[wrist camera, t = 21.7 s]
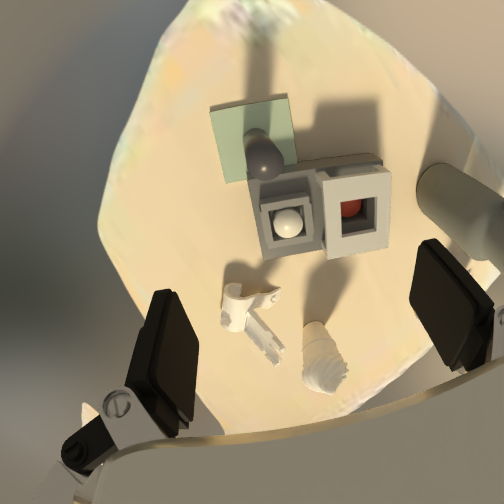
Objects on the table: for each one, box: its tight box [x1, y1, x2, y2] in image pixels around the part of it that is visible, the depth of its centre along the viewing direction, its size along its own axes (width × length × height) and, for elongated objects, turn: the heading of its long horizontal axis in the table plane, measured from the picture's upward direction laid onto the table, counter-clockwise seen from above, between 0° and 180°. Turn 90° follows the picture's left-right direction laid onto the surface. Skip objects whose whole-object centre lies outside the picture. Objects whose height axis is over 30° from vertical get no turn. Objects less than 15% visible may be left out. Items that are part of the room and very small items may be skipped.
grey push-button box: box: [246, 153, 391, 260], centre depth 38 cm, size 18×12×7 cm, turn 100°
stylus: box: [243, 128, 284, 181], centre depth 30 cm, size 3×3×12 cm
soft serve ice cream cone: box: [302, 321, 349, 395], centre depth 49 cm, size 8×8×16 cm
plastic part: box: [220, 283, 285, 367], centre depth 46 cm, size 8×10×12 cm
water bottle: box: [417, 163, 504, 275], centre depth 28 cm, size 10×10×28 cm
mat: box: [209, 98, 298, 184], centre depth 36 cm, size 10×10×1 cm
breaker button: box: [340, 199, 361, 217], centre depth 39 cm, size 4×4×3 cm
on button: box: [273, 207, 303, 238], centre depth 37 cm, size 4×4×2 cm
